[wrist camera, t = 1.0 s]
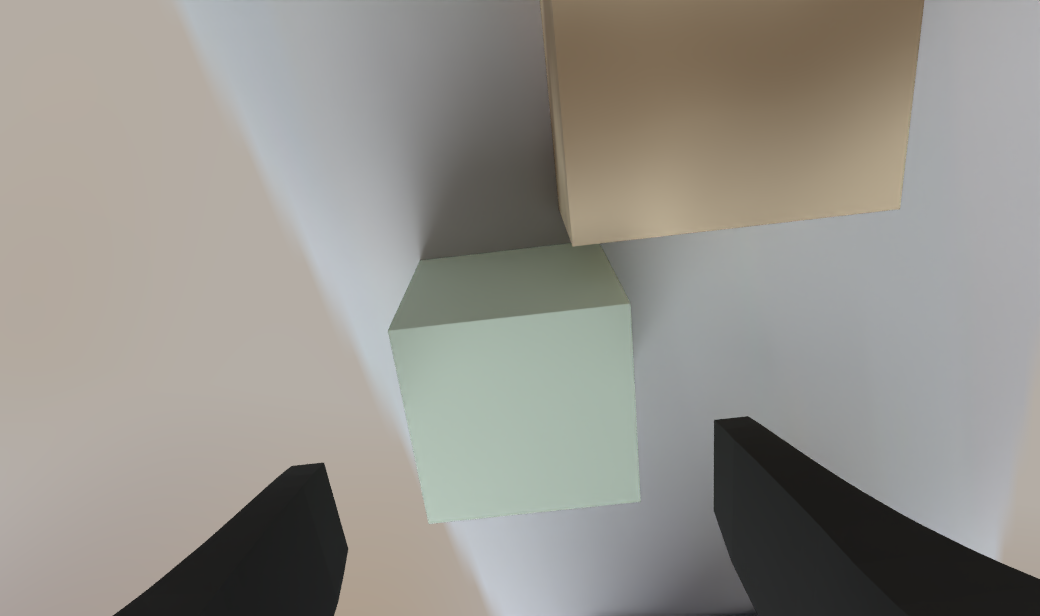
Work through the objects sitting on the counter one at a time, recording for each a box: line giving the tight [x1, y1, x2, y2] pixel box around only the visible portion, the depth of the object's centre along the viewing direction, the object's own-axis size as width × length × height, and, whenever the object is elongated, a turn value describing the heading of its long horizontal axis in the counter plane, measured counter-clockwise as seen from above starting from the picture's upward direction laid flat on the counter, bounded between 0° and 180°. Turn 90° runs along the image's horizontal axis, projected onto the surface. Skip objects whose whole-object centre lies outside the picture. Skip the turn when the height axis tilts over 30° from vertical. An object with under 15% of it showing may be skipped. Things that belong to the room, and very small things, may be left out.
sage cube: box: [388, 243, 641, 524], centre depth 16 cm, size 5×5×5 cm
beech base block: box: [540, 0, 924, 247], centre depth 14 cm, size 7×7×4 cm
